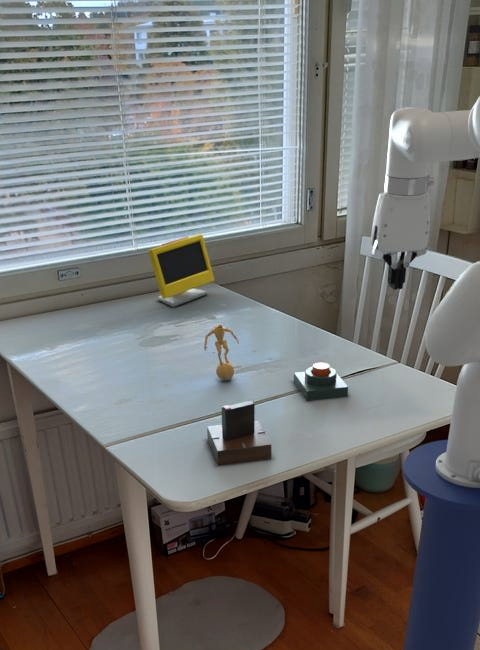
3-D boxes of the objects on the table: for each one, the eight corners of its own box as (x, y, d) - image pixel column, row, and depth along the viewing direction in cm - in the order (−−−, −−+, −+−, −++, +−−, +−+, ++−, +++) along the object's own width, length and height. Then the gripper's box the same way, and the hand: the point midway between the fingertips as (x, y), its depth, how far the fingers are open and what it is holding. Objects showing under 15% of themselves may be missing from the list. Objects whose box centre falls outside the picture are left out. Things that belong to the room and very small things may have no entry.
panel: (271, 459, 144) (272, 443, 142) (217, 465, 142) (217, 450, 140) (258, 434, 152) (258, 419, 150) (206, 440, 150) (206, 425, 148)
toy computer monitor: (166, 310, 211) (162, 250, 202) (146, 304, 215) (141, 245, 206) (215, 292, 224) (213, 234, 215) (195, 286, 228) (192, 230, 219)
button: (331, 375, 165) (332, 368, 164) (315, 377, 165) (315, 369, 164) (326, 369, 168) (326, 361, 167) (310, 371, 168) (310, 363, 167)
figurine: (212, 386, 170) (210, 333, 163) (200, 376, 175) (198, 324, 168) (246, 379, 173) (245, 326, 167) (233, 369, 178) (232, 318, 171)
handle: (250, 429, 147) (250, 399, 143) (254, 433, 146) (254, 402, 142) (222, 436, 145) (221, 406, 141) (226, 440, 143) (225, 409, 140)
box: (347, 396, 165) (348, 378, 163) (306, 401, 164) (307, 383, 162) (332, 377, 173) (333, 360, 171) (293, 382, 172) (294, 364, 170)
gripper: (435, 179, 146) (423, 278, 156) (359, 184, 143) (352, 284, 154) (453, 187, 140) (439, 290, 150) (374, 192, 137) (365, 296, 148)
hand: (395, 287), depth 152 cm, fingers closed
